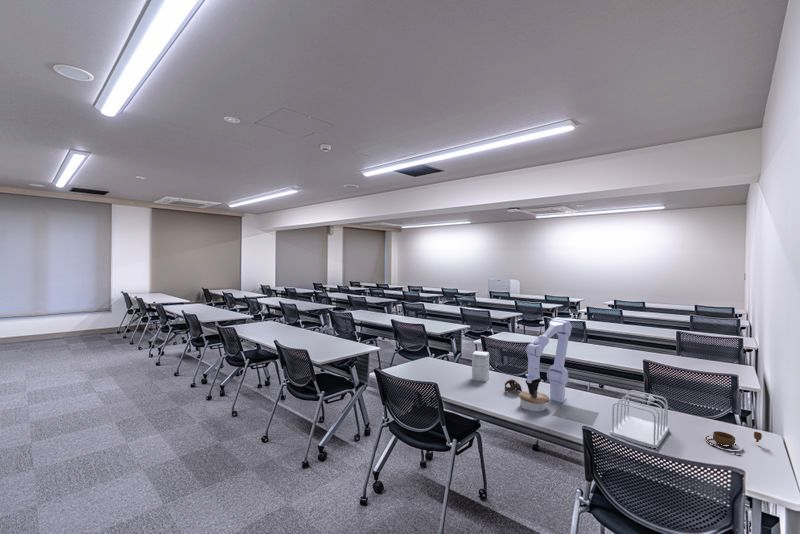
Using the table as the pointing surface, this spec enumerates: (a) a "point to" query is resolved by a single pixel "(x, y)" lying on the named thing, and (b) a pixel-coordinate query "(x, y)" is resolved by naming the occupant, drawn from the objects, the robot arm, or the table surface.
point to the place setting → (729, 438)
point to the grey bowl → (532, 406)
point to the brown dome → (512, 386)
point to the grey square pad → (576, 414)
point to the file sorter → (640, 423)
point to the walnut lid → (534, 397)
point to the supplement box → (480, 366)
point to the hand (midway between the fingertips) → (533, 393)
